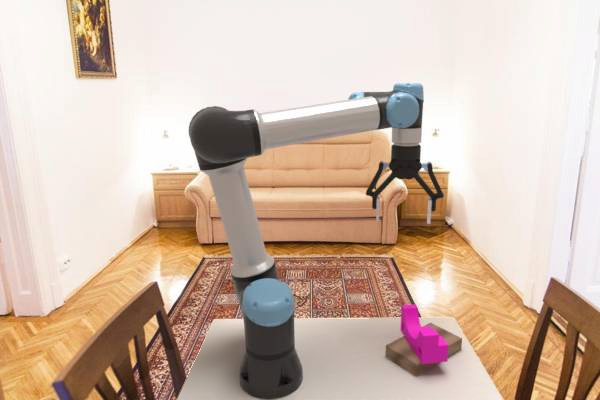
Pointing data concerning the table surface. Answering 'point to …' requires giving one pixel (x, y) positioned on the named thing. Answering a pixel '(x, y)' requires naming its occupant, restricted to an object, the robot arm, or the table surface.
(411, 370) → the walnut base block
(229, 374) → the table surface
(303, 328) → the table surface
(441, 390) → the table surface
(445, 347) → the toy block
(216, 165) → the robot arm
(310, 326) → the table surface
